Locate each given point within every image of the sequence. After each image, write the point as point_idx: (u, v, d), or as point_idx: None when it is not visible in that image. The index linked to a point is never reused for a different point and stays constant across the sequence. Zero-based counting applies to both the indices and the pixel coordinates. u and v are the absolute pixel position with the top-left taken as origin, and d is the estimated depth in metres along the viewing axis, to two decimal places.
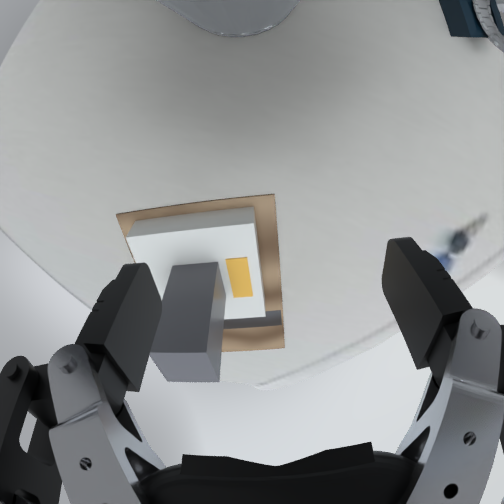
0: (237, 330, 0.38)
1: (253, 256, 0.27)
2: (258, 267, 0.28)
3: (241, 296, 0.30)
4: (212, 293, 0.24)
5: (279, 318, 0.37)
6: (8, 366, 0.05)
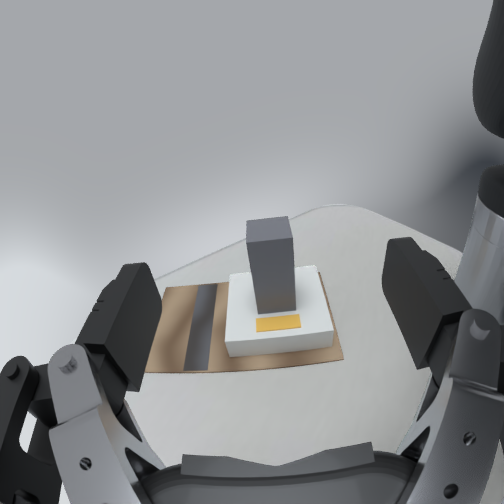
0: (186, 333, 0.37)
1: (302, 331, 0.31)
2: (289, 335, 0.31)
3: (256, 323, 0.33)
4: (295, 283, 0.31)
5: (194, 368, 0.32)
6: (8, 366, 0.05)
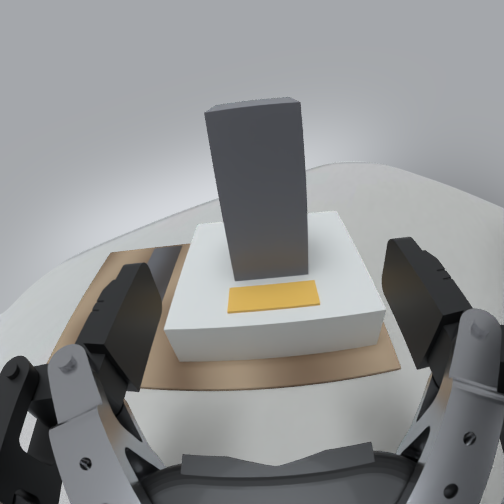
0: None
1: (322, 312, 0.15)
2: (296, 320, 0.15)
3: (229, 296, 0.17)
4: None
5: None
6: (8, 366, 0.05)
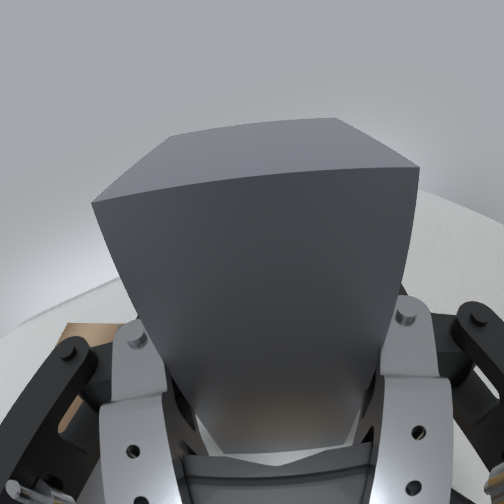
0: None
1: None
2: None
3: None
4: None
5: None
6: (63, 346, 0.06)
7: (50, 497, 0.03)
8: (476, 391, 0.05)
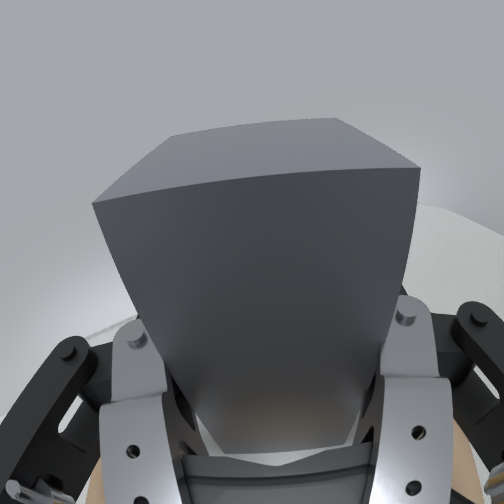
0: None
1: None
2: None
3: None
4: None
5: None
6: (63, 346, 0.06)
7: (50, 497, 0.03)
8: (476, 391, 0.05)
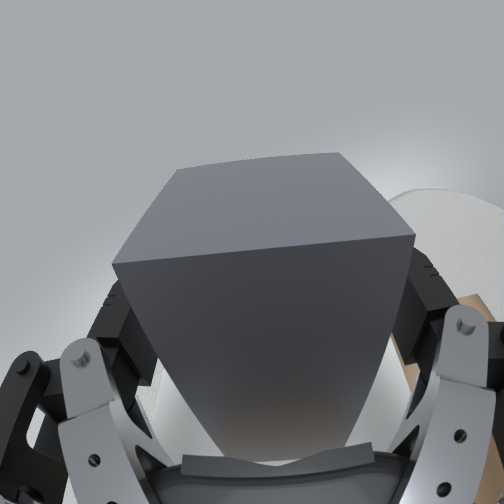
0: None
1: None
2: None
3: None
4: None
5: None
6: (18, 361, 0.05)
7: None
8: None
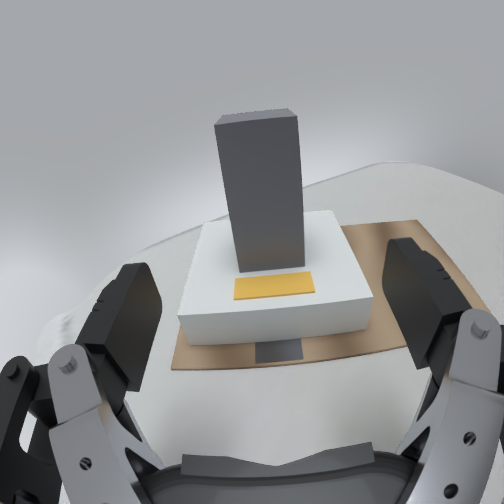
0: None
1: (317, 299, 0.17)
2: (294, 305, 0.17)
3: (235, 285, 0.19)
4: None
5: (277, 358, 0.17)
6: (8, 366, 0.05)
7: None
8: None
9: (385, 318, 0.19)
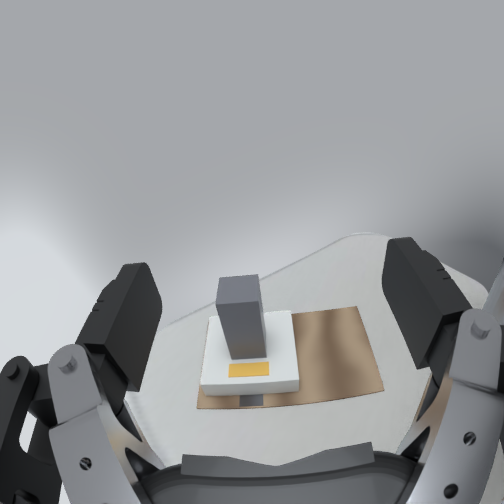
0: None
1: (269, 379, 0.33)
2: (258, 382, 0.32)
3: (229, 368, 0.34)
4: (263, 336, 0.33)
5: (250, 404, 0.33)
6: (8, 366, 0.05)
7: None
8: None
9: (311, 385, 0.34)
